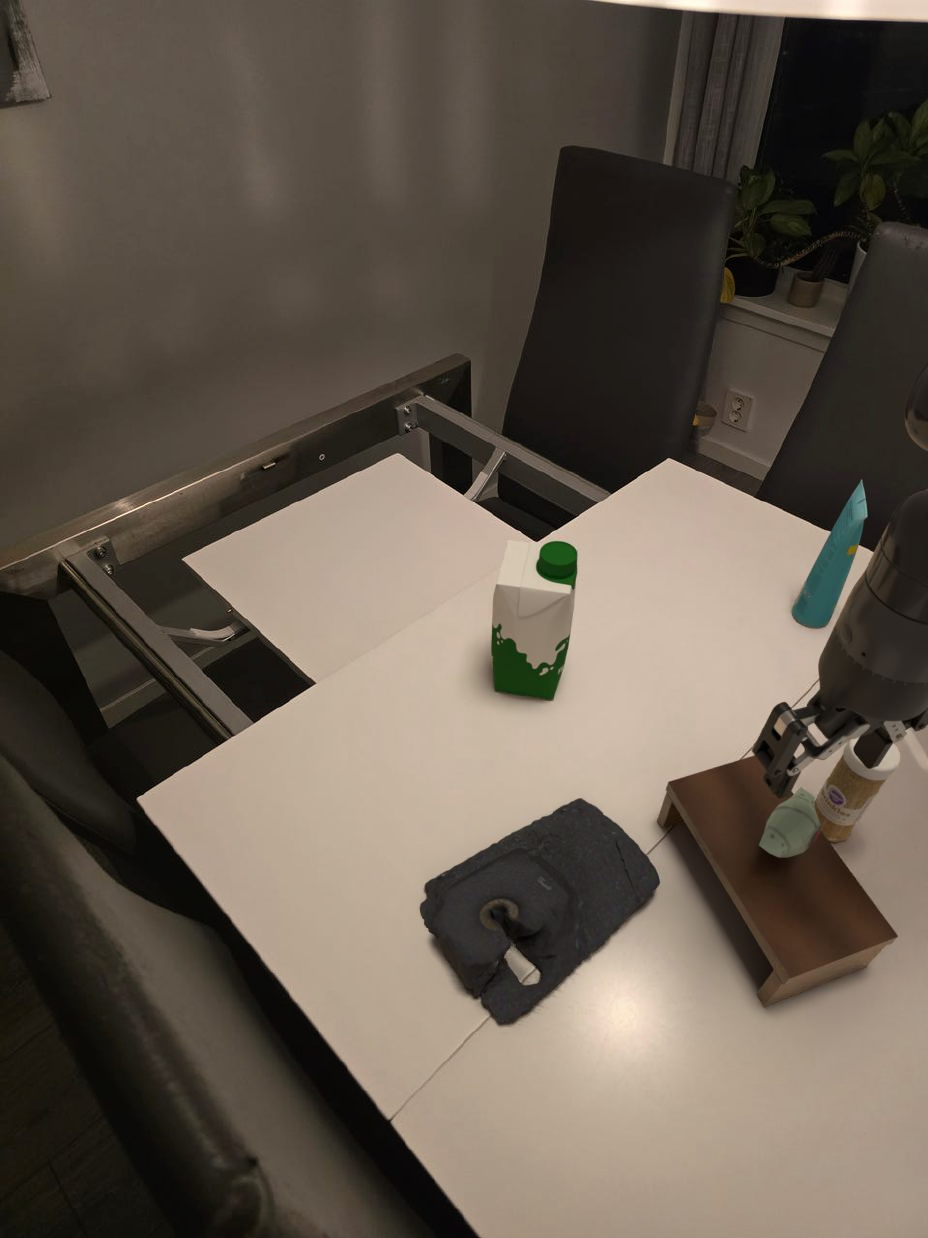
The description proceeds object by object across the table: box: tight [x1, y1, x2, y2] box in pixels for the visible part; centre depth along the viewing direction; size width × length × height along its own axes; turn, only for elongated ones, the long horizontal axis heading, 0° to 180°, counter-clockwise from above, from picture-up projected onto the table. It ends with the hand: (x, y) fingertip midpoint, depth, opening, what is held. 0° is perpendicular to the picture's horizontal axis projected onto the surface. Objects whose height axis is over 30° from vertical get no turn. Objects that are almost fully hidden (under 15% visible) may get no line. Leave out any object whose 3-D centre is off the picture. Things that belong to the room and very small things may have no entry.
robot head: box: [759, 786, 821, 858], centre depth 70 cm, size 8×4×7 cm, turn 137°
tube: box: [791, 479, 868, 629], centre depth 97 cm, size 7×5×19 cm, turn 169°
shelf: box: [656, 754, 899, 1007], centre depth 75 cm, size 11×20×7 cm, turn 19°
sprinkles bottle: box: [814, 736, 901, 843], centre depth 77 cm, size 5×5×14 cm
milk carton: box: [490, 539, 579, 701], centre depth 90 cm, size 9×9×20 cm
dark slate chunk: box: [419, 797, 661, 1023], centre depth 74 cm, size 15×22×5 cm
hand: (820, 773), depth 64 cm, fingers open, 8 cm apart
